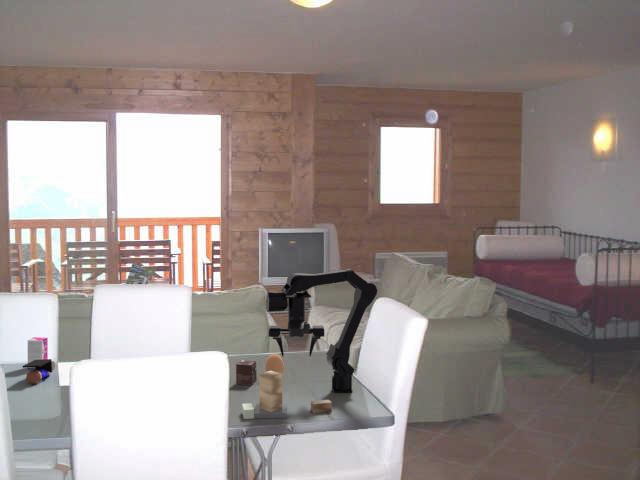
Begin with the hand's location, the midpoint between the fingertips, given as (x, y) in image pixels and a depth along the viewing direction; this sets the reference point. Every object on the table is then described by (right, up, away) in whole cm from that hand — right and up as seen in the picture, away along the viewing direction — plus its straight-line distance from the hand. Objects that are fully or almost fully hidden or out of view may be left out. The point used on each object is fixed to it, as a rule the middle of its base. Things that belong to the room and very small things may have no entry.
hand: (296, 356), depth 238 cm
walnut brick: (+8, -15, -17) cm, 24 cm away
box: (-18, -12, +14) cm, 26 cm away
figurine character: (-94, -12, +17) cm, 96 cm away
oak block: (-7, -13, -19) cm, 24 cm away
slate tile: (-7, -15, -19) cm, 25 cm away
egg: (-9, -12, +21) cm, 25 cm away
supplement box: (-101, -10, +33) cm, 107 cm away
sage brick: (-14, -15, -22) cm, 30 cm away
